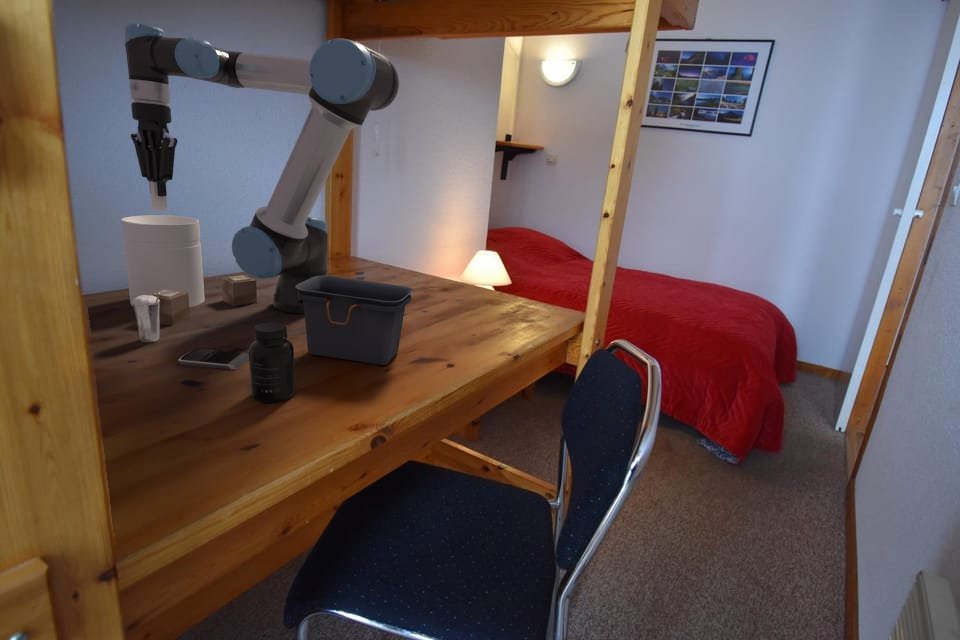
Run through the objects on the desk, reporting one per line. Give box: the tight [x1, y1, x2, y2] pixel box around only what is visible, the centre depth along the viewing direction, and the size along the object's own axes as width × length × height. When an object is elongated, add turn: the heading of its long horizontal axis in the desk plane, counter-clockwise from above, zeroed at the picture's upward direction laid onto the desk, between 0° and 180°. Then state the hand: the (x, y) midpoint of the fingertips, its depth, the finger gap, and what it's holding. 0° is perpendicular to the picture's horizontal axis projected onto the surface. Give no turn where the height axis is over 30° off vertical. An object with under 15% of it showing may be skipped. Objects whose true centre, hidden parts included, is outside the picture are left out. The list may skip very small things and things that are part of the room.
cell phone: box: [177, 348, 249, 370], centre depth 100 cm, size 6×11×1 cm, turn 88°
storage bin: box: [295, 274, 414, 366], centre depth 106 cm, size 21×16×14 cm
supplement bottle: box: [248, 322, 296, 404], centre depth 87 cm, size 7×7×12 cm
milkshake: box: [132, 294, 161, 343], centre depth 106 cm, size 5×5×10 cm
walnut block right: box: [221, 275, 258, 307], centre depth 136 cm, size 6×6×6 cm
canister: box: [120, 214, 206, 308], centre depth 129 cm, size 16×16×20 cm
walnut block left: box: [149, 290, 191, 326], centre depth 118 cm, size 6×6×6 cm
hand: (159, 210), depth 126 cm, fingers closed
